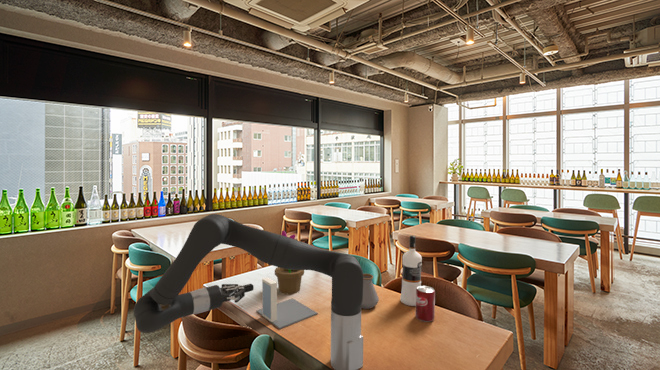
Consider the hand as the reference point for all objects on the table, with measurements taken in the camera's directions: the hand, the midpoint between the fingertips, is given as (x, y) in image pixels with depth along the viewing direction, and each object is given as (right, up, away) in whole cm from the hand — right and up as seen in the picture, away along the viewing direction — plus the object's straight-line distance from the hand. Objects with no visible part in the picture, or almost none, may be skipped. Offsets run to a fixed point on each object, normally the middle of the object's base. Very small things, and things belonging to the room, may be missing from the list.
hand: (252, 286), depth 115 cm
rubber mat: (+11, -15, +13) cm, 23 cm away
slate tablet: (+5, -15, +8) cm, 17 cm away
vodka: (+65, -15, +24) cm, 71 cm away
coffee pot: (+40, -15, +24) cm, 49 cm away
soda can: (+67, -16, +10) cm, 69 cm away
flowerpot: (+9, -14, +37) cm, 40 cm away
